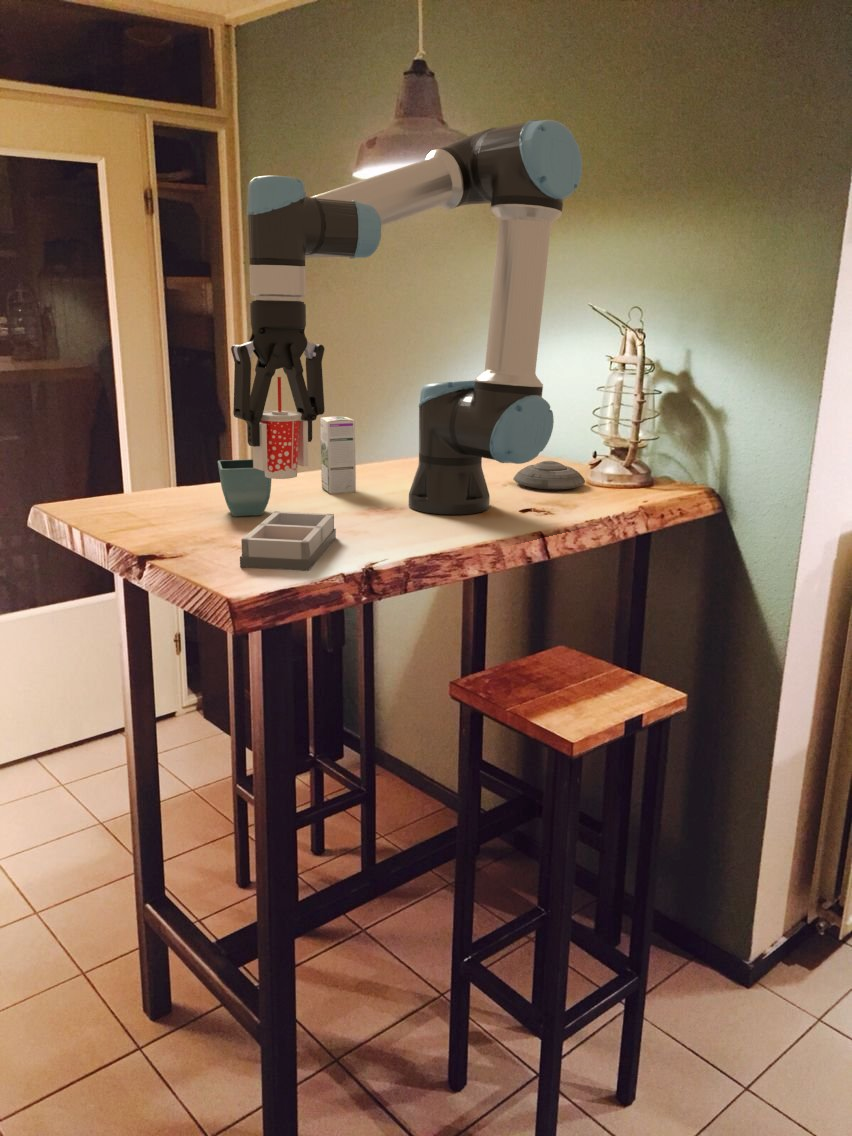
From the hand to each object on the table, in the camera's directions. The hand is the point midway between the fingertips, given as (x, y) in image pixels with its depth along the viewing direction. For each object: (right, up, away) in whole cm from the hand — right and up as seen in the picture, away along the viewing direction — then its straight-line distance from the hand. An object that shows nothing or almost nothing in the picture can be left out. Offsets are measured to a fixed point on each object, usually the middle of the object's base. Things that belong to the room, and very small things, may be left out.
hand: (281, 466), depth 134 cm
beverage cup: (0, -1, 0) cm, 2 cm away
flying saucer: (+47, +2, +63) cm, 78 cm away
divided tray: (0, -12, +8) cm, 14 cm away
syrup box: (+3, +1, +53) cm, 53 cm away
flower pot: (-11, -5, +32) cm, 34 cm away
